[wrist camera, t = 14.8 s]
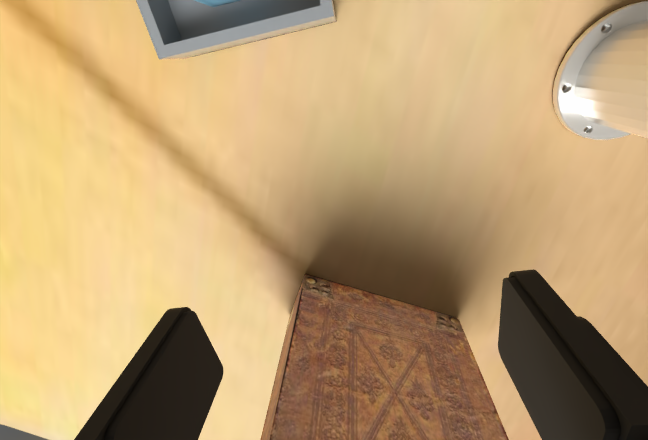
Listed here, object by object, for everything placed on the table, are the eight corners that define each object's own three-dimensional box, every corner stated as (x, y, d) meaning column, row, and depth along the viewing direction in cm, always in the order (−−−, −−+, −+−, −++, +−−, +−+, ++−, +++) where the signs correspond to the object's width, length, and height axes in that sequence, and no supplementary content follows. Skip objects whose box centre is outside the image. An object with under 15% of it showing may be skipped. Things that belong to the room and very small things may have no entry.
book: (459, 318, 49) (591, 631, 22) (432, 356, 53) (516, 656, 26) (304, 272, 47) (244, 556, 20) (289, 315, 51) (223, 596, 25)
